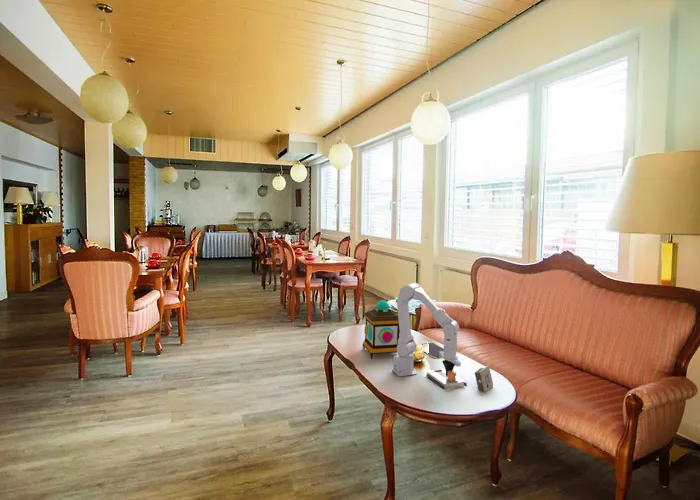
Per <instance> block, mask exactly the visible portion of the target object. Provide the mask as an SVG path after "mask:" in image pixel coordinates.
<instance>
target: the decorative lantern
mask: <svg viewBox="0 0 700 500" xmlns="http://www.w3.org/2000/svg"><path fill="white" fill-rule="evenodd" d="M363 315H364V319H365V325H364V340H363V342H362V349H363V350H365V349H366V351H368V352H369V354H370V356H369V357H370V359H371V360H374V356H375V355H383V354H396V353H397V346H398V339H399V337H400V330H399V319H398V314H397V313H395V312H393V310H392V309H390V304H389V302H388V301H386V300H385V299H382V300H379V301H378V302H377V304H376V307H374V308H373V309H371V310H367V311H365V312H364V313H363ZM397 354H398V353H397Z"/></svg>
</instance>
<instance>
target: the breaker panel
mask: <svg viewBox="0 0 700 500" xmlns="http://www.w3.org/2000/svg"><path fill="white" fill-rule="evenodd" d="M427 374H428V375H429V376H431V377H432V378H433V379H435V380H436V381H437V382H439V383H440V384H441V385H443V386H444V390H448V389H451V390H452V389H457V388H458V389H459V388H463V387H464V386H465V385H464V382H465V381H464V380H463V379H461V378H460V377H458V376H457V375H456V380H453V381H449V380H448V379H447V376H446V371H445V368H440V369H433V370H432V369H431V370H427V371H426V375H427Z"/></svg>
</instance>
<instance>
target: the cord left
mask: <svg viewBox="0 0 700 500" xmlns="http://www.w3.org/2000/svg"><path fill="white" fill-rule="evenodd" d="M425 375H426V376H425V377H426V378H427V379H429V380H431V381H432V382H433V383H434V384H435V385H437V386H439V387H440V388H441V389H444V386H443V385H441V384H440V383H439V382H437V381H436V380H435V379H433V378H432V377H431V376H429V375H428V374H427V373H426V374H425ZM444 390H445V389H444Z"/></svg>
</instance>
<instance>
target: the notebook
mask: <svg viewBox="0 0 700 500" xmlns="http://www.w3.org/2000/svg"><path fill="white" fill-rule="evenodd" d="M427 343H428V344H429V353H428V354H427V355H428V356H429V357H431V358H432V359H441V358H442V359H443V357H442V356H439V352H441V351H443V352H444V347H441V346H439V345H438V344H435V343H434V342H426V343H421V344H422V345H423V344H427Z"/></svg>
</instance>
